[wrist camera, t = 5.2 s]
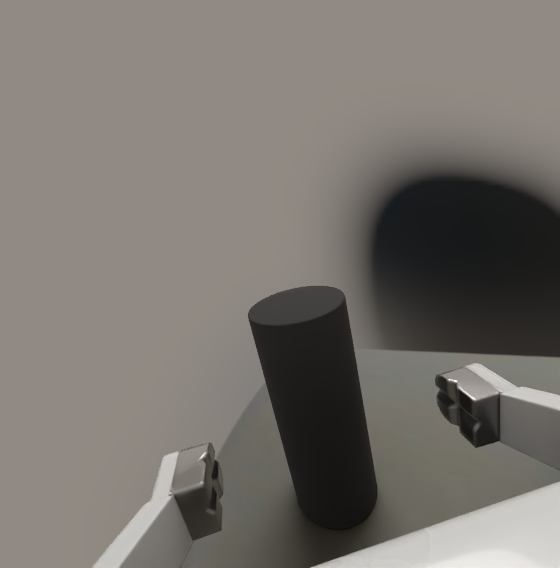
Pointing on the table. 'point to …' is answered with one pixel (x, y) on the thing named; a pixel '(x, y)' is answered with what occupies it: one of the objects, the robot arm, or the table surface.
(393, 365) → the table surface
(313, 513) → the dark cylindrical post
